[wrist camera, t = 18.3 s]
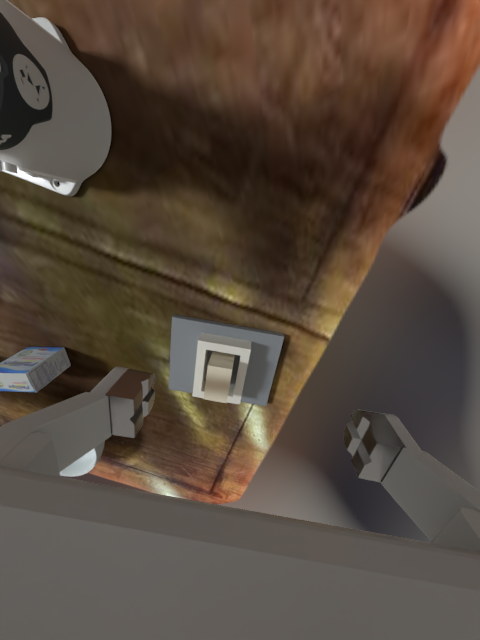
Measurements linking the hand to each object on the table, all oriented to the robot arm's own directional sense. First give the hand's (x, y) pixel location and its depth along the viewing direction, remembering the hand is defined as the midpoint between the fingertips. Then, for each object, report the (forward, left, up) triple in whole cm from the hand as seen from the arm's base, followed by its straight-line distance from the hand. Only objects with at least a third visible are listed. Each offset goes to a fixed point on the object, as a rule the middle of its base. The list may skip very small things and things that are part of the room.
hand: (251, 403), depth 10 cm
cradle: (-3, -19, -31) cm, 37 cm away
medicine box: (-38, -25, -31) cm, 55 cm away
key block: (-3, -19, -30) cm, 35 cm away
